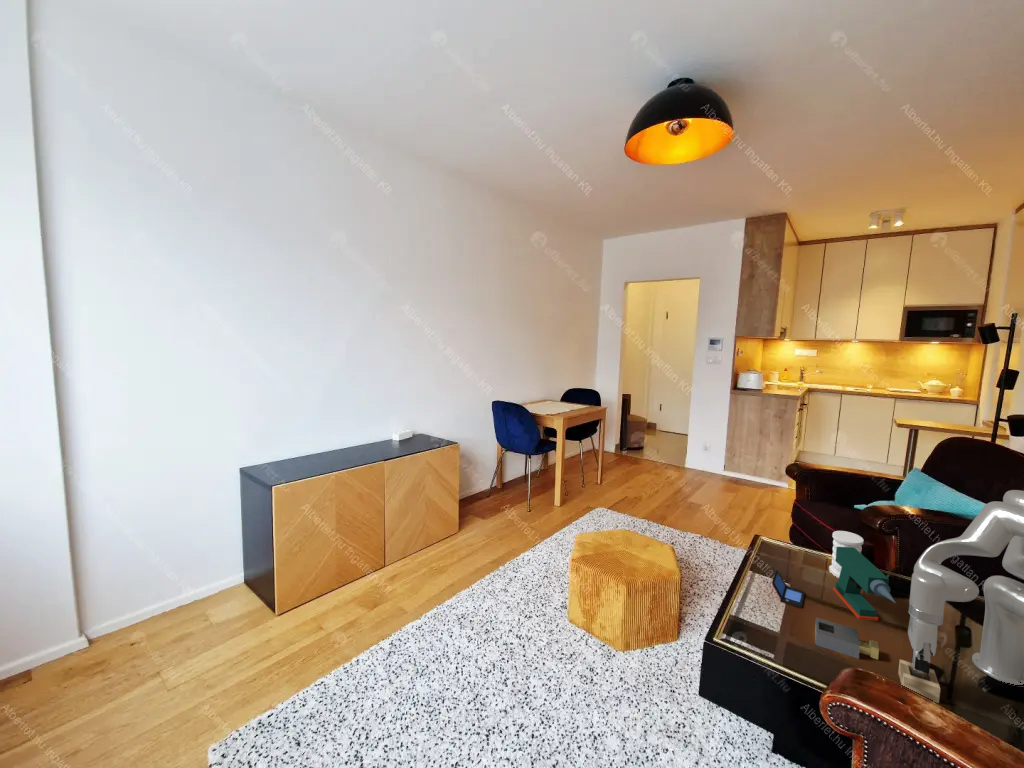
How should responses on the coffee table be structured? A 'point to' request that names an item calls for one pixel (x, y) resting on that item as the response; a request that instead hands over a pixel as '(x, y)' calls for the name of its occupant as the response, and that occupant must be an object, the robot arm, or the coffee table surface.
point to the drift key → (870, 648)
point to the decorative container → (843, 541)
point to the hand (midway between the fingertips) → (920, 665)
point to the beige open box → (919, 681)
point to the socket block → (837, 637)
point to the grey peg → (917, 672)
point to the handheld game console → (787, 592)
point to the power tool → (859, 582)
